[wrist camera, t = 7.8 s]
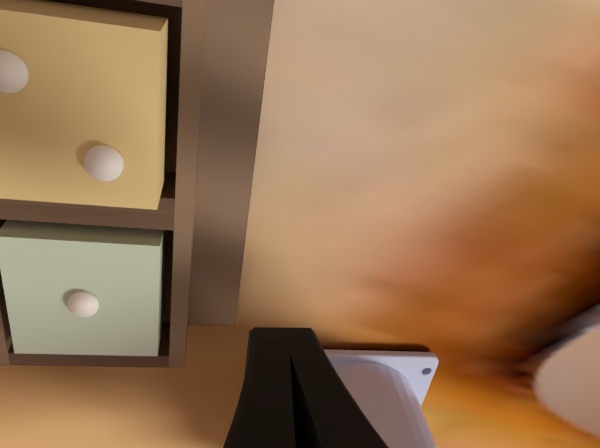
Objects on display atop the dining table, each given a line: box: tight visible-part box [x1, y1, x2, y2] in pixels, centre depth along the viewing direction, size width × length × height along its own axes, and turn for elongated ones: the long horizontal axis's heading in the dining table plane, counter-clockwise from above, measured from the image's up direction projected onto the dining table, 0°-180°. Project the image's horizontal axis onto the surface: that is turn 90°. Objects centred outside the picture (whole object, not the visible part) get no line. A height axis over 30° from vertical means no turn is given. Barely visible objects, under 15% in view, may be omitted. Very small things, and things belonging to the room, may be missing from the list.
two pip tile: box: [0, 0, 168, 210], centre depth 14 cm, size 5×5×2 cm
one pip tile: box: [0, 220, 166, 356], centre depth 18 cm, size 5×5×2 cm
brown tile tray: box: [0, 0, 274, 368], centre depth 16 cm, size 21×11×3 cm, turn 171°
